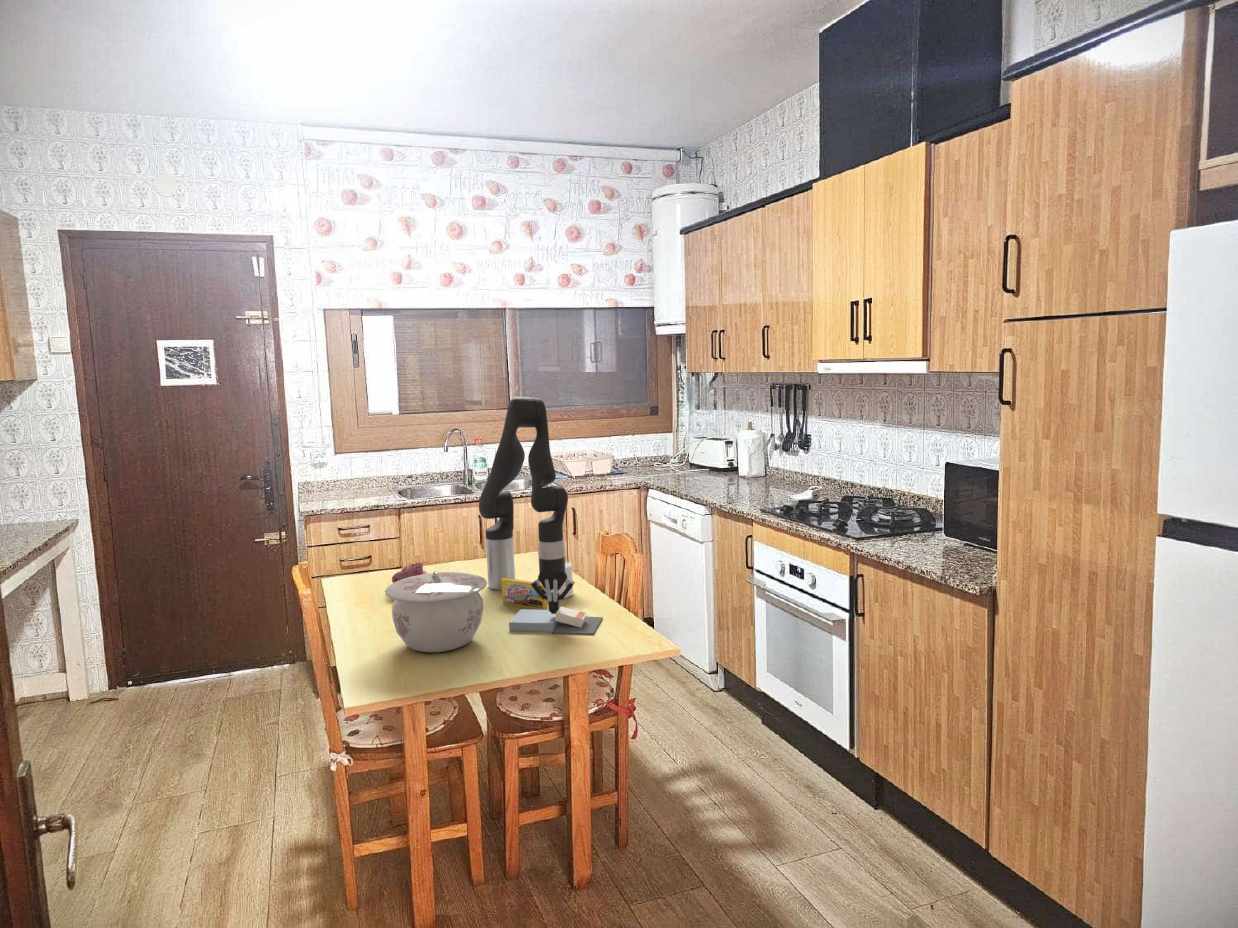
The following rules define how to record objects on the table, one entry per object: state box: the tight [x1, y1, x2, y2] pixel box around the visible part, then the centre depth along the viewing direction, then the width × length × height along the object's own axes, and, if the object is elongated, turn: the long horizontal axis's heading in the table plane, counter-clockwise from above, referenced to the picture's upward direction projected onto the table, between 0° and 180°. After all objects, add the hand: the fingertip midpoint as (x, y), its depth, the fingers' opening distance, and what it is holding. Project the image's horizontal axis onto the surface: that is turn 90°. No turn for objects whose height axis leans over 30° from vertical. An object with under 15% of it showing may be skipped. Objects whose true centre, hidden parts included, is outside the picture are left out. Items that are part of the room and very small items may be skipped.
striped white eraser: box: [555, 605, 588, 628], centre depth 235 cm, size 6×8×3 cm
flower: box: [391, 561, 428, 584], centre depth 273 cm, size 15×15×10 cm
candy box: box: [501, 578, 548, 610], centre depth 255 cm, size 16×2×8 cm, turn 62°
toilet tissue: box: [540, 561, 574, 599], centre depth 266 cm, size 11×12×10 cm
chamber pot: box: [384, 570, 488, 654], centre depth 222 cm, size 28×28×21 cm
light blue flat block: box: [508, 608, 559, 633], centre depth 237 cm, size 12×13×2 cm
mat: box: [551, 616, 603, 636], centre depth 235 cm, size 14×12×1 cm
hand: (554, 612), depth 236 cm, fingers closed
